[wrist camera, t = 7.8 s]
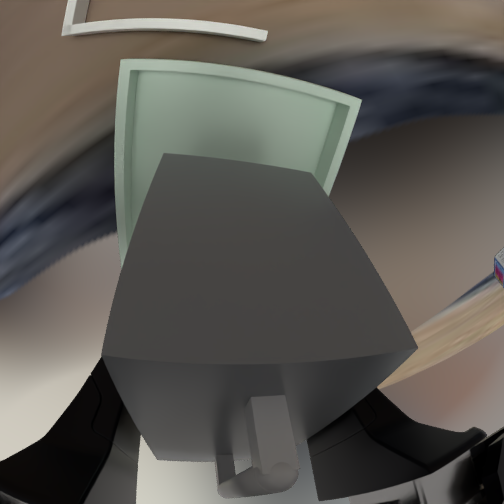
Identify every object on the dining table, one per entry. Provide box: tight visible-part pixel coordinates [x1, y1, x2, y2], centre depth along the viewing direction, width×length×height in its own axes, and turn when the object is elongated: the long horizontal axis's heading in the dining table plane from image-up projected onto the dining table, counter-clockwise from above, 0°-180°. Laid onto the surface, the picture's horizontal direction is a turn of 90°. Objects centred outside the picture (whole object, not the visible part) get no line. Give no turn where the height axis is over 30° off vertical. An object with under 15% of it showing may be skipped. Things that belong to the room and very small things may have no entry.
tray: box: [114, 58, 362, 269], centre depth 15 cm, size 11×15×2 cm
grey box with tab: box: [101, 153, 418, 498], centre depth 8 cm, size 5×9×9 cm, turn 168°
